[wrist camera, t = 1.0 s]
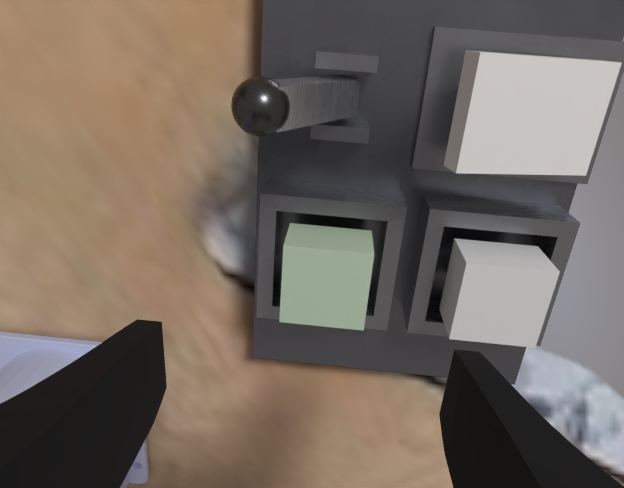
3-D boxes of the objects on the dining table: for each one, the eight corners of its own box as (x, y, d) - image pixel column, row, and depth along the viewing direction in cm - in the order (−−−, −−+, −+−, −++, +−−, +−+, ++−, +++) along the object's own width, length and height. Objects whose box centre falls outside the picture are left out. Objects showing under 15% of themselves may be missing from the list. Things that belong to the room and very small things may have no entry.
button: (362, 301, 19) (363, 330, 17) (285, 293, 19) (279, 322, 17) (371, 230, 18) (374, 254, 16) (289, 223, 18) (283, 245, 16)
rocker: (568, 168, 17) (585, 175, 16) (443, 165, 16) (455, 173, 15) (600, 60, 16) (622, 62, 15) (465, 50, 15) (480, 52, 14)
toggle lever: (360, 122, 17) (264, 145, 13) (322, 115, 18) (219, 134, 13) (366, 74, 16) (266, 81, 12) (325, 68, 17) (218, 73, 13)
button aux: (517, 316, 19) (535, 347, 17) (439, 308, 19) (448, 339, 17) (537, 246, 17) (559, 271, 16) (454, 238, 18) (466, 263, 16)
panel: (509, 364, 23) (532, 413, 20) (258, 338, 24) (245, 383, 21) (641, -78, 16) (709, -103, 13) (272, -105, 16) (255, -134, 13)
